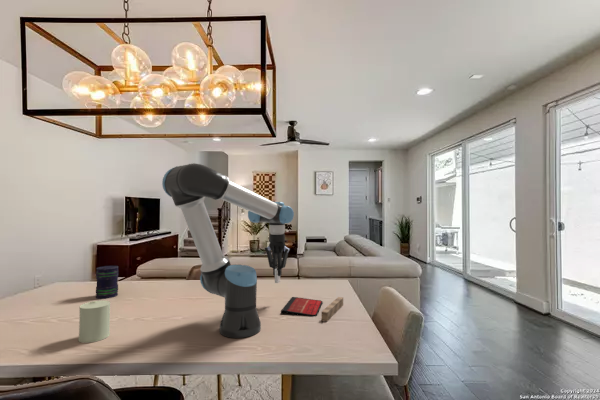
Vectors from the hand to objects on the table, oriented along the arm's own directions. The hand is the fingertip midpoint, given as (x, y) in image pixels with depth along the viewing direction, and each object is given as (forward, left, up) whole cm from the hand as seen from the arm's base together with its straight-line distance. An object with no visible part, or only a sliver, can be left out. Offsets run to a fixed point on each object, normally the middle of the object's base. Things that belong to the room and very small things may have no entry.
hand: (277, 282), depth 145 cm
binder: (0, -14, -11) cm, 18 cm away
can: (-61, +40, -10) cm, 74 cm away
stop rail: (0, -28, -10) cm, 30 cm away
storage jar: (-27, +86, -10) cm, 91 cm away
